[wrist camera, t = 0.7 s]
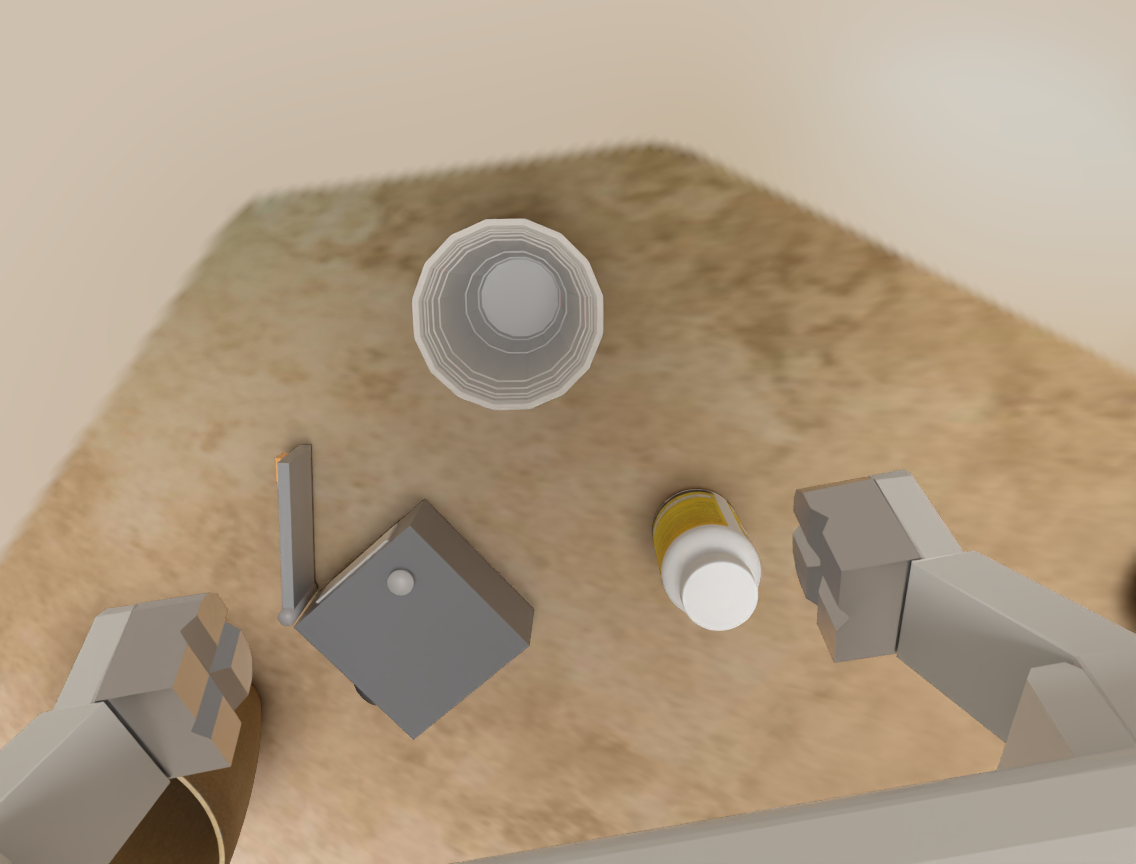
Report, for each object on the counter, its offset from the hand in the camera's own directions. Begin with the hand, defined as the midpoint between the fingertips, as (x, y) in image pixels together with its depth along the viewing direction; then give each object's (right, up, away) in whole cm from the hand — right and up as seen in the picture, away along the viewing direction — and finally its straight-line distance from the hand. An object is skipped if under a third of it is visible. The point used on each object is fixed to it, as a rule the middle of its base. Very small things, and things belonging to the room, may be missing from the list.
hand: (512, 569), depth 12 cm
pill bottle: (+10, -5, +50) cm, 52 cm away
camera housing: (-10, -11, +52) cm, 54 cm away
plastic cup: (-2, +11, +46) cm, 48 cm away
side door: (-19, -5, +50) cm, 54 cm away
